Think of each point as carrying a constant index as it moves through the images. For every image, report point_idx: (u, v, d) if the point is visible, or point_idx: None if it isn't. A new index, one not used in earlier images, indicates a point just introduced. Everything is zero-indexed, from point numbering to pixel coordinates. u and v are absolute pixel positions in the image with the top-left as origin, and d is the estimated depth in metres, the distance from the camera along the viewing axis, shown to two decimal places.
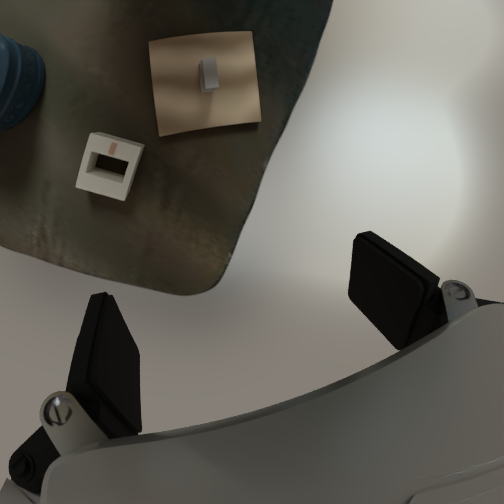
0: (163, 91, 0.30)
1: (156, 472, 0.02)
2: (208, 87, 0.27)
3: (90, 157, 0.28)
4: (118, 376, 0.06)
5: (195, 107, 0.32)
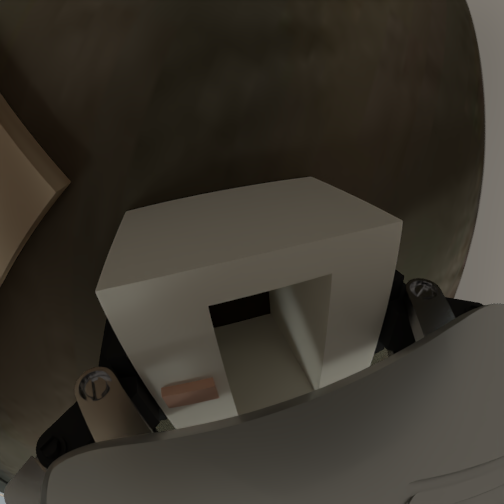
0: None
1: (156, 472, 0.02)
2: None
3: (260, 403, 0.09)
4: None
5: None
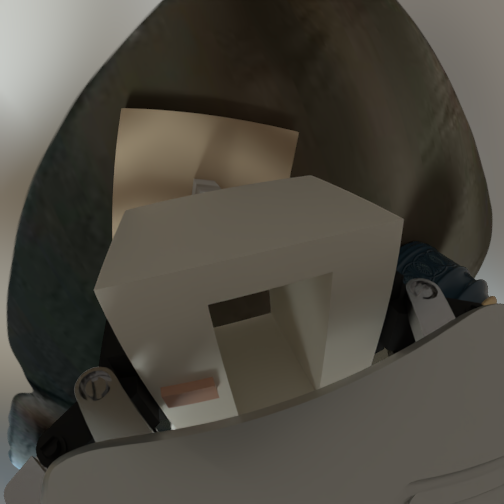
0: None
1: (156, 472, 0.02)
2: None
3: (260, 403, 0.08)
4: None
5: (230, 157, 0.20)
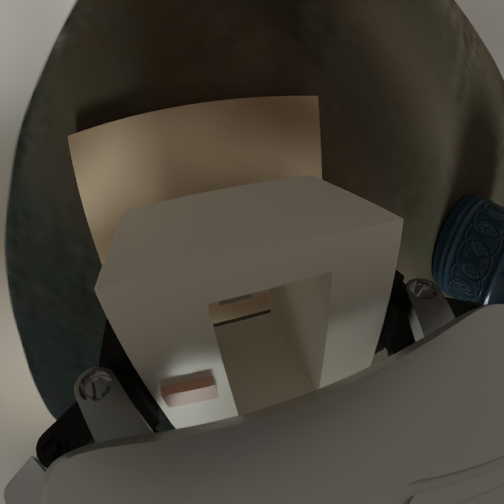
0: None
1: (156, 472, 0.02)
2: None
3: (260, 402, 0.08)
4: None
5: (235, 154, 0.14)
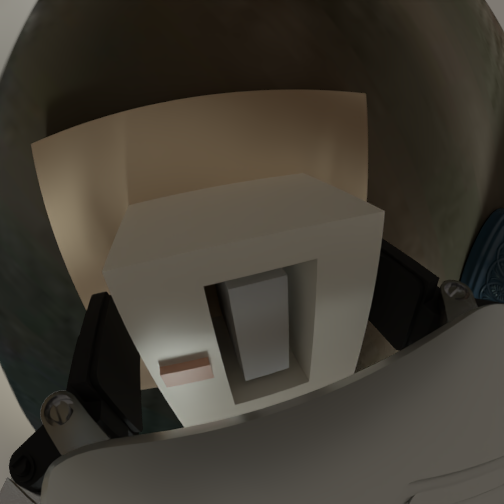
0: None
1: (156, 472, 0.02)
2: (273, 280, 0.07)
3: (254, 387, 0.09)
4: (119, 375, 0.07)
5: (262, 168, 0.10)
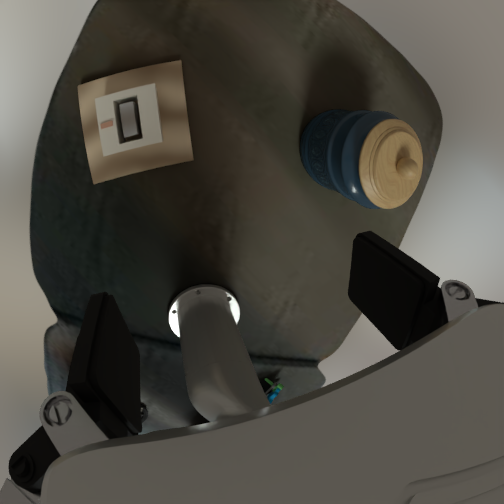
0: (175, 104, 0.30)
1: (156, 472, 0.02)
2: (129, 103, 0.25)
3: (127, 142, 0.27)
4: (118, 376, 0.06)
5: None
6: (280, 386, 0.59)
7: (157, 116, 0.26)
